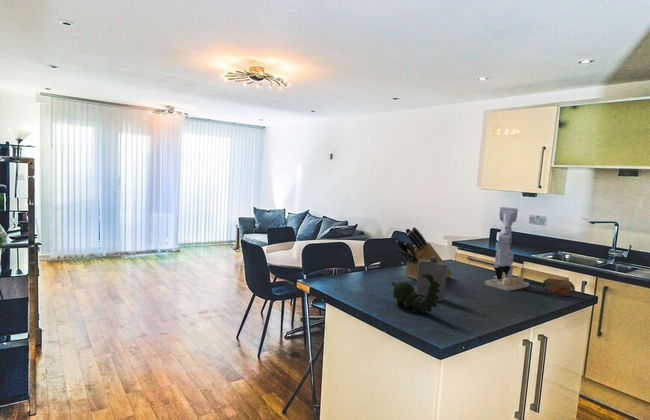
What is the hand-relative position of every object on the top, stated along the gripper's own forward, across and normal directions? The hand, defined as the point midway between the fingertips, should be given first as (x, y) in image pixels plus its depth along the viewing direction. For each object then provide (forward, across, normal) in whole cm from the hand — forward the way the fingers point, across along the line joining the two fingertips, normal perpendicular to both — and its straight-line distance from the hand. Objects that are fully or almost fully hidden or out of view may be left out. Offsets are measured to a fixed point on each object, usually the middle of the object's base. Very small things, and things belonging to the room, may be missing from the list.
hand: (501, 278), depth 223 cm
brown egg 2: (+3, -7, +7) cm, 10 cm away
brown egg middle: (+3, 0, +7) cm, 7 cm away
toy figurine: (+4, +81, +6) cm, 81 cm away
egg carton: (+3, 0, +3) cm, 5 cm away
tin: (+4, -12, +25) cm, 28 cm away
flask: (+4, +58, -3) cm, 58 cm away
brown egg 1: (+3, +7, +7) cm, 10 cm away
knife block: (+4, +32, -31) cm, 44 cm away
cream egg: (+1, 0, 0) cm, 1 cm away
